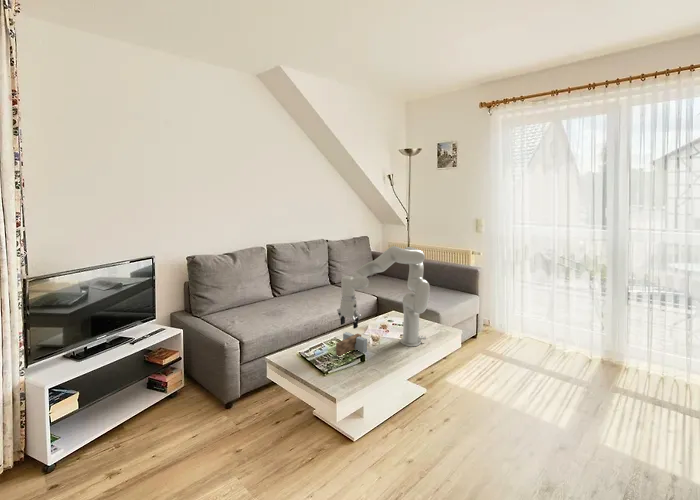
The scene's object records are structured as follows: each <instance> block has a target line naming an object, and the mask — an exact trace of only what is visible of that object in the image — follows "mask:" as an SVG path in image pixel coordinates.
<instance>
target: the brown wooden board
mask: <svg viewBox="0 0 700 500" xmlns="http://www.w3.org/2000/svg"><path fill="white" fill-rule="evenodd" d="M359 336H360V337H362V334H360V333H355V334H354V335H353V336H351V337H349V338H347V339H344V340H343V339H342V340H341V341H337V342H336V343H335V351H336V352H335V356H336V355H338V356H341V355H343V354H345V353H347V352H349V351H351V350H354V349H355V344H356V338H357V337H359Z"/></svg>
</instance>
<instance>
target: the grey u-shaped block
mask: <svg viewBox="0 0 700 500" xmlns="http://www.w3.org/2000/svg"><path fill="white" fill-rule="evenodd" d="M342 335H343V336H342V340H344V339H347V338H349V337H351V336H353V335H355V334H353V333H352V332H351V333H350V332H348V331H345V332H343V333H342ZM355 349H356V350H359V351H361V352H364V353H363V354H365V353H367V352H368V338H365V337H362V336H361V337H360V336H359V337H357V338H356V344H355ZM356 350H355V351H356ZM361 352H360V353H361Z"/></svg>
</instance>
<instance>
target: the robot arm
mask: <svg viewBox="0 0 700 500" xmlns="http://www.w3.org/2000/svg"><path fill="white" fill-rule="evenodd" d="M425 259H426V255H425V253H424V251H422V250H420V249H418V248H415V247H411V246H406V247H404V248H402V247H399V246H396V245H392V246H391V247H388V248H387V249H386V250H385V251H383V253H381V254H380V255H379V256H378V257H376V258H375V259H374V260H372V261H369V262H367V263H365V264H363V265H361V266H359V267H358V268H357V269H356V270H355V271H354V272H353V273H352V274H351V275H345V276H342V277H341V280H340V285H341V287H340V288H341V299H340V304H339V305H340V308H337V309H336V311H337V314H338V316H339V319H340V326H342V325H345V323H346V318H350V319H352V321H353V322H352V323H353V326H352V327H353V328H352V329H355V330H356V329H357V328H358V326H359V325H358V324H359V323H358V322H359V321H360V320H361V317H362V315H361V314H360V313H359V311H358V310H359V309H358V303H357V297H356V294H355V293H356V292H355V291H356V290H364V289H367V288H368V287H369V285H370V280H369V278H368V276H370V275H372V274H378V273H383V272H385V271H386V270H388V269H389V268H390V267H391V266H392V265H394V264H395V263H398V264H404V265H408V266H409V269H408V270H409V272H408V276H407V277H408V278H407V283H406V284H407V288H408V290H409V291H411V292H407V293H406V294H404V296H403V299H402V308H403V322H402V323H403V324H402V325H403V328H402V330H403V331H402V337H401V338H400V341H399V342H400V343H401V345H403V346H406V347H418V346H420V345H421V344H422V343H421V342H422V340H423V341H425V340H427V336H426V335H425V336H423V335H422V334H421V335H419V332H420V329H419V328H420V314H423V313H424V312H425V311H426V310H427V308H428V304H429V299H430V294H431V293H430V291H431V285H430V283H429V282H428V281H427V280H426V279H425V278H424V269H425V268H424V267H425V266H424V261H425Z"/></svg>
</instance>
